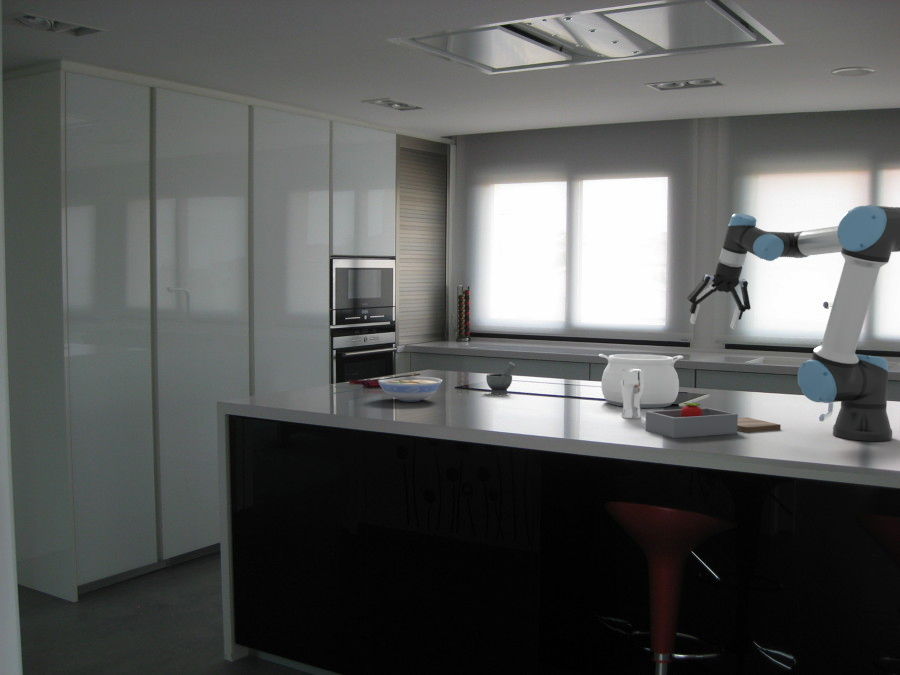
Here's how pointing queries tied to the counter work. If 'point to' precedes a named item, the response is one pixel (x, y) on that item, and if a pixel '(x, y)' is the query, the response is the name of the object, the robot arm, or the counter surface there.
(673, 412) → the crate
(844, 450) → the counter surface
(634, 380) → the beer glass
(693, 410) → the strawberry
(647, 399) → the pot
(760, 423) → the display board
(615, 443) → the counter surface
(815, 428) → the counter surface
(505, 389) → the mortar and pestle
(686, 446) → the counter surface
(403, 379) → the ramen bowl
